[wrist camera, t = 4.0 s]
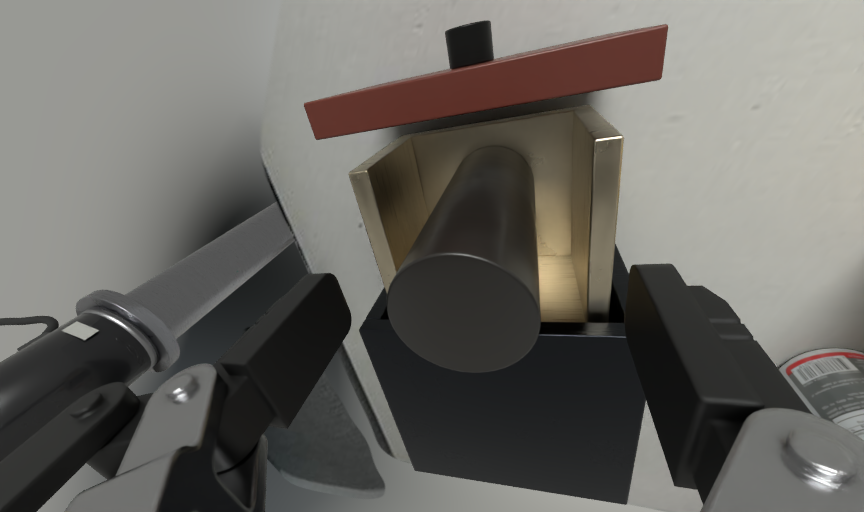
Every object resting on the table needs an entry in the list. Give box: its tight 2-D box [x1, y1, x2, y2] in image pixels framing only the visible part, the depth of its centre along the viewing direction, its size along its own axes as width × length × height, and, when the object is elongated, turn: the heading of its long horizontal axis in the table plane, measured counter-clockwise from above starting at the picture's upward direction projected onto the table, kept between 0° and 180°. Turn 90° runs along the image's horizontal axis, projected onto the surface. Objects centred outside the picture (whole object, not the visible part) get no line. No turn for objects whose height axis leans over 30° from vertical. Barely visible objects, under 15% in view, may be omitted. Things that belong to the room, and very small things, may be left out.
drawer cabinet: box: [359, 244, 646, 505], centre depth 19 cm, size 12×12×9 cm
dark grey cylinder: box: [387, 146, 541, 373], centre depth 13 cm, size 4×4×10 cm
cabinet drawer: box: [304, 21, 668, 323], centre depth 14 cm, size 12×10×7 cm
